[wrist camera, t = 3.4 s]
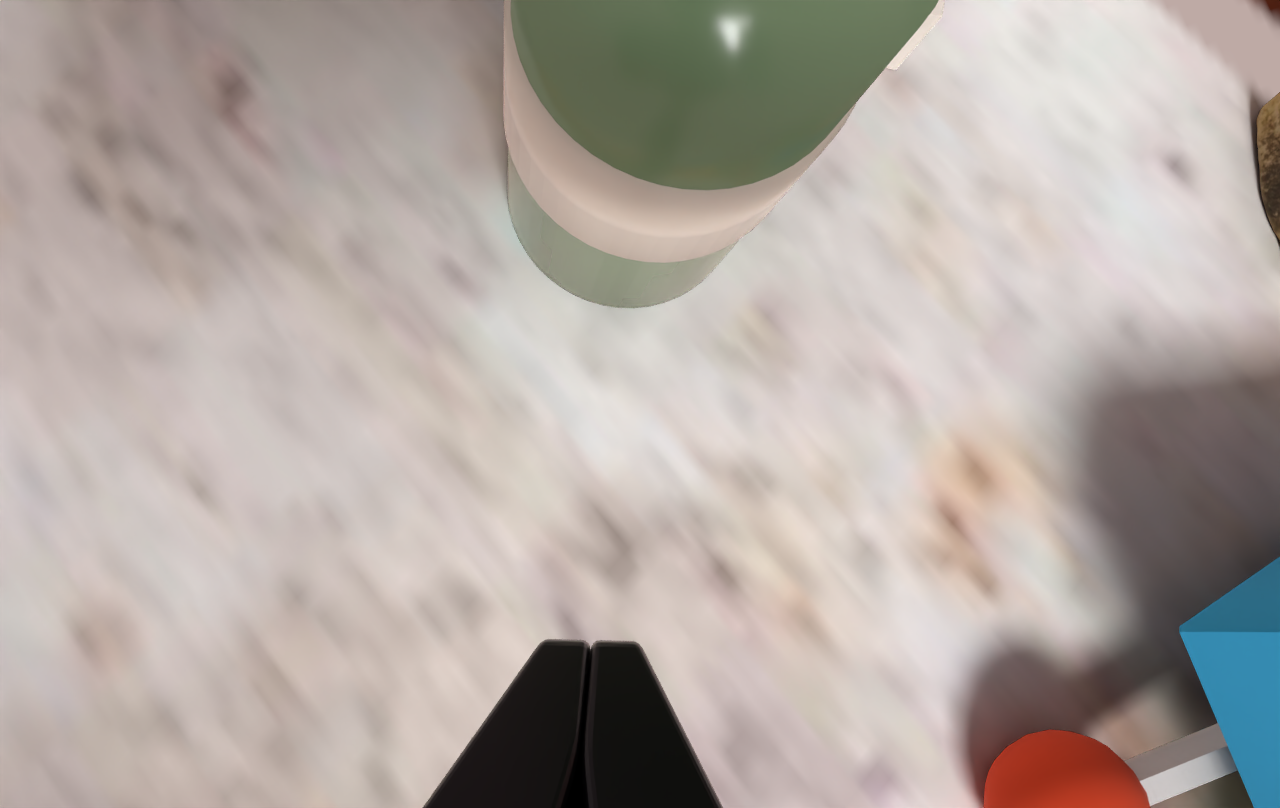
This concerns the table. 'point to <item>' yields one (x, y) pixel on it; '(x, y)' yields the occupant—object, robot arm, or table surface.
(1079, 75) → the table surface
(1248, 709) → the lever
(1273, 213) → the rock
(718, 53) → the bottle
